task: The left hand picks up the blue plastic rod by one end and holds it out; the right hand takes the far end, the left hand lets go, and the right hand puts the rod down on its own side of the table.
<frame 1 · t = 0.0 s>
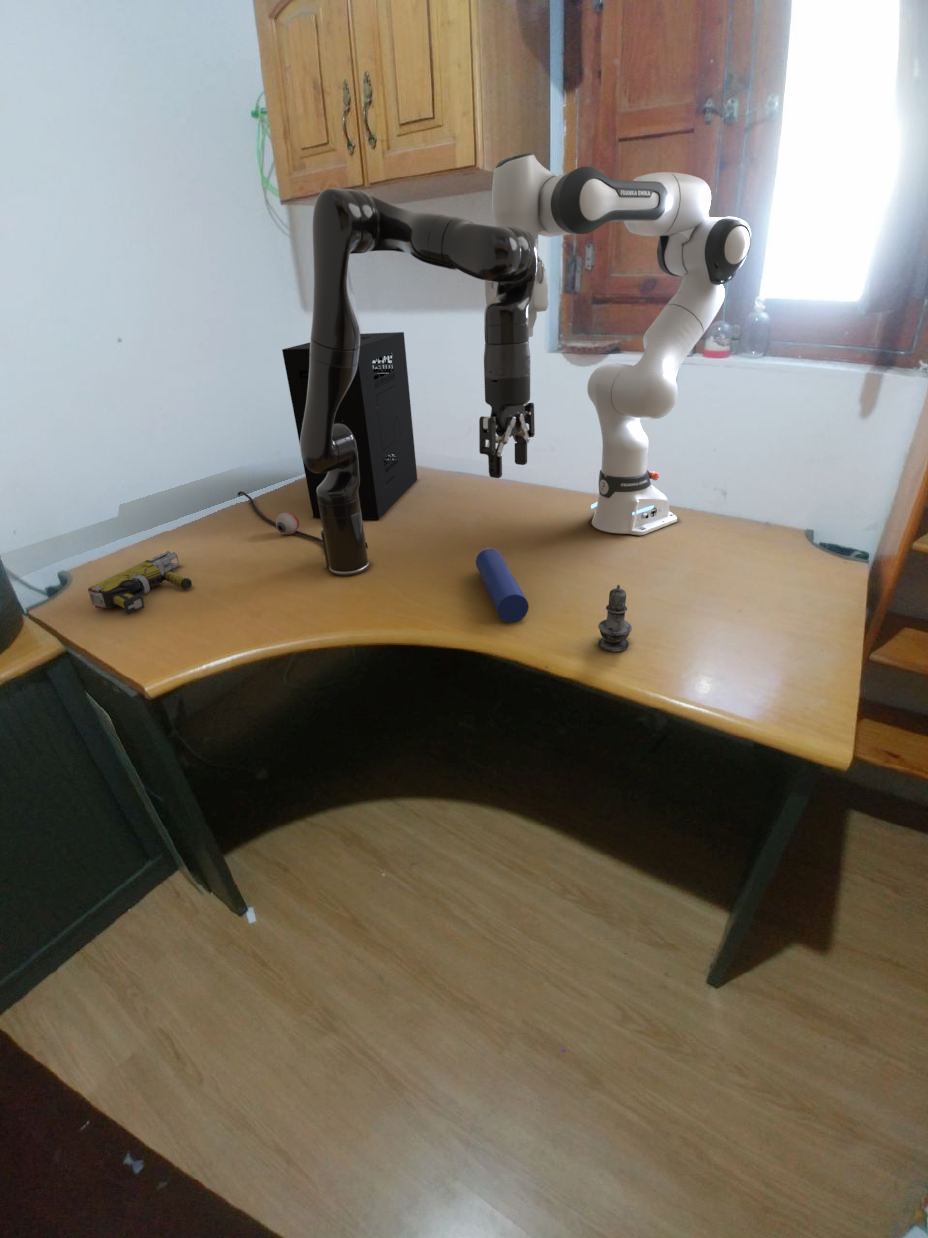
left hand: (508, 470, 106), 29 cm above the table, tool pointing down, fingers open, 8 cm apart
right hand: (516, 335, 125), 48 cm above the table, tool pointing down, fingers open, 8 cm apart
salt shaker: (613, 644, 109), on the table
eyeball: (289, 534, 165), on the table
toy gun: (157, 590, 139), on the table
cardboard box: (369, 497, 189), on the table
rod: (500, 595, 128), on the table
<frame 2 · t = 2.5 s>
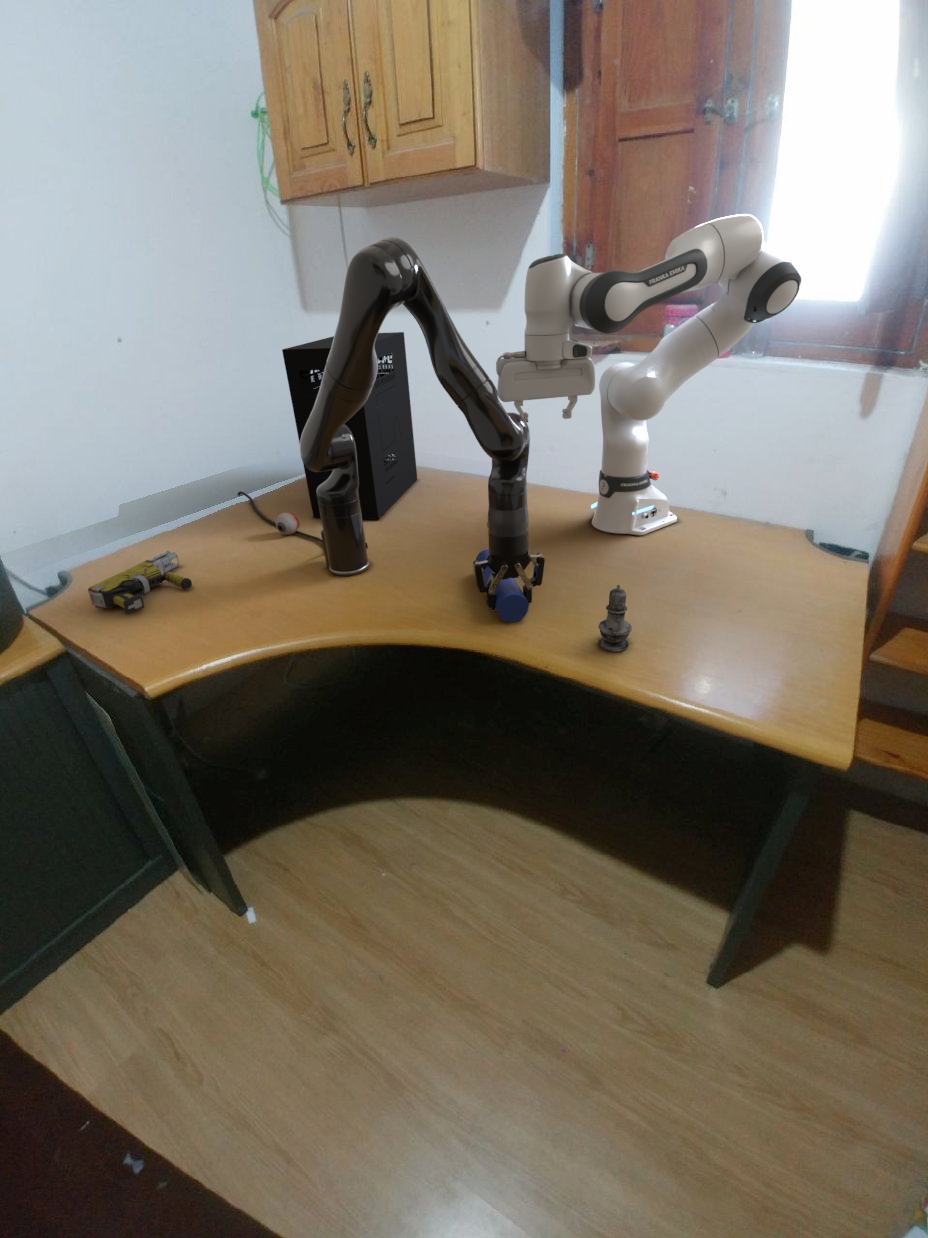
left hand: (509, 606, 120), 2 cm above the table, tool pointing down, fingers closed on rod, 6 cm apart
right hand: (545, 420, 128), 32 cm above the table, tool pointing down, fingers open, 8 cm apart
rod: (500, 596, 128), on the table, touching left hand
everything else where it was.
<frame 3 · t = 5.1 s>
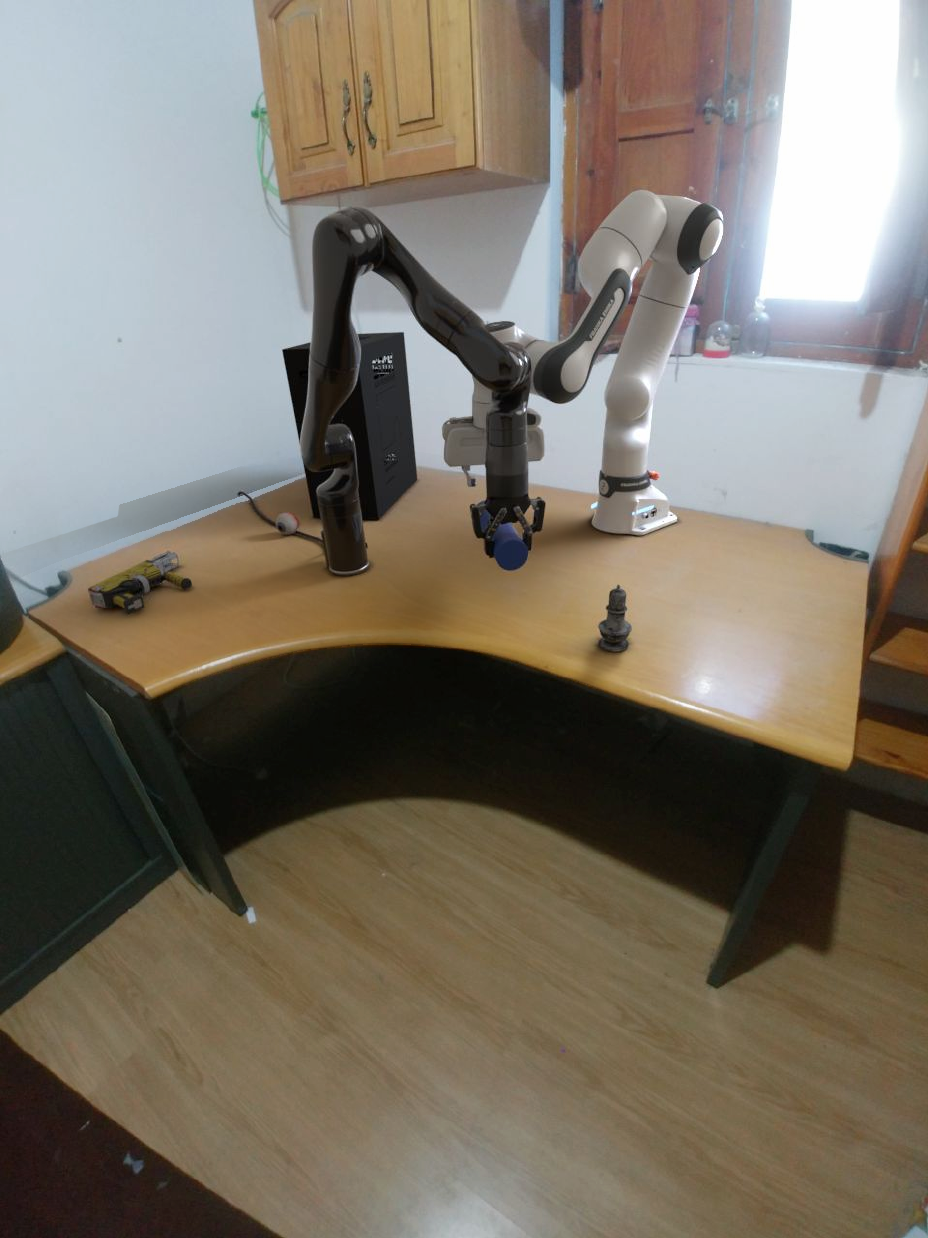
left hand: (508, 554, 114), 13 cm above the table, tool pointing down, fingers closed on rod, 6 cm apart
right hand: (493, 484, 124), 22 cm above the table, tool pointing down, fingers open, 8 cm apart
rod: (498, 547, 122), point 11 cm above the table, touching left hand
everything else where it was.
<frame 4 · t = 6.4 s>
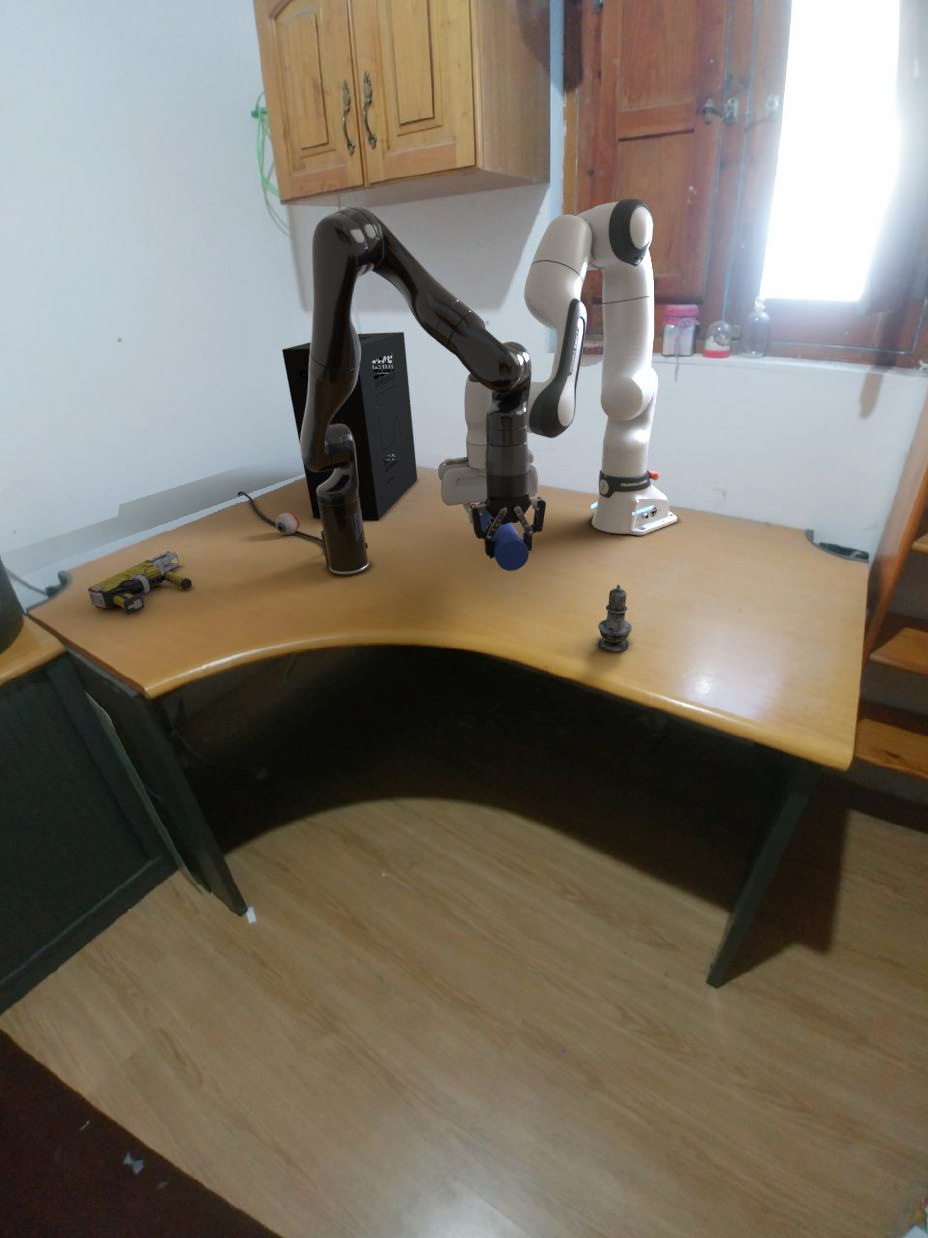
left hand: (508, 554, 114), 13 cm above the table, tool pointing down, fingers closed on rod, 6 cm apart
right hand: (490, 520, 128), 14 cm above the table, tool pointing down, fingers closed on rod, 6 cm apart
rod: (499, 547, 122), point 11 cm above the table, touching right hand, left hand
everything else where it was.
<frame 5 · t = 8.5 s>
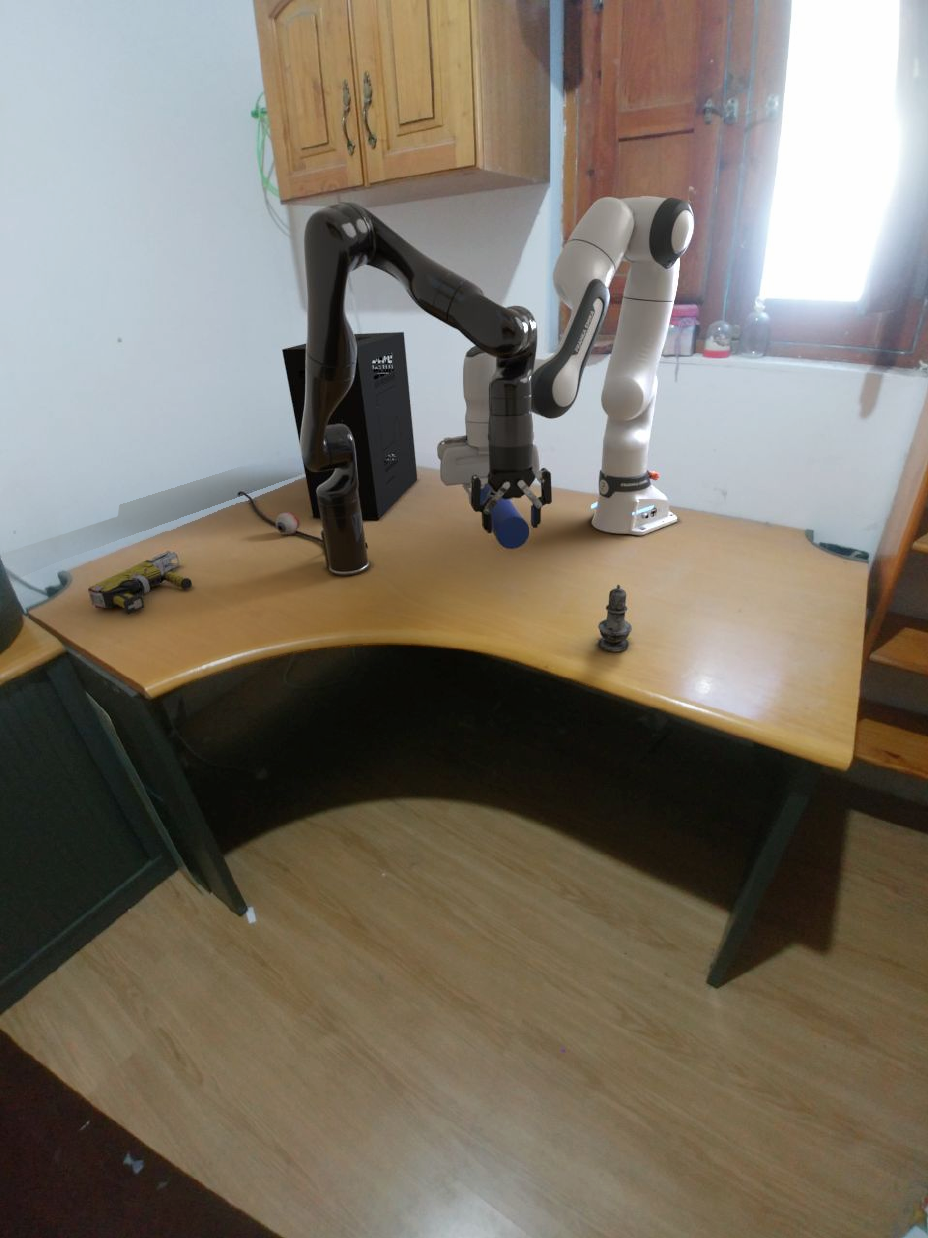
left hand: (511, 529, 110), 19 cm above the table, tool pointing down, fingers open, 8 cm apart
right hand: (491, 500, 126), 18 cm above the table, tool pointing down, fingers closed on rod, 6 cm apart
rod: (499, 527, 120), point 16 cm above the table, touching right hand
everything else where it was.
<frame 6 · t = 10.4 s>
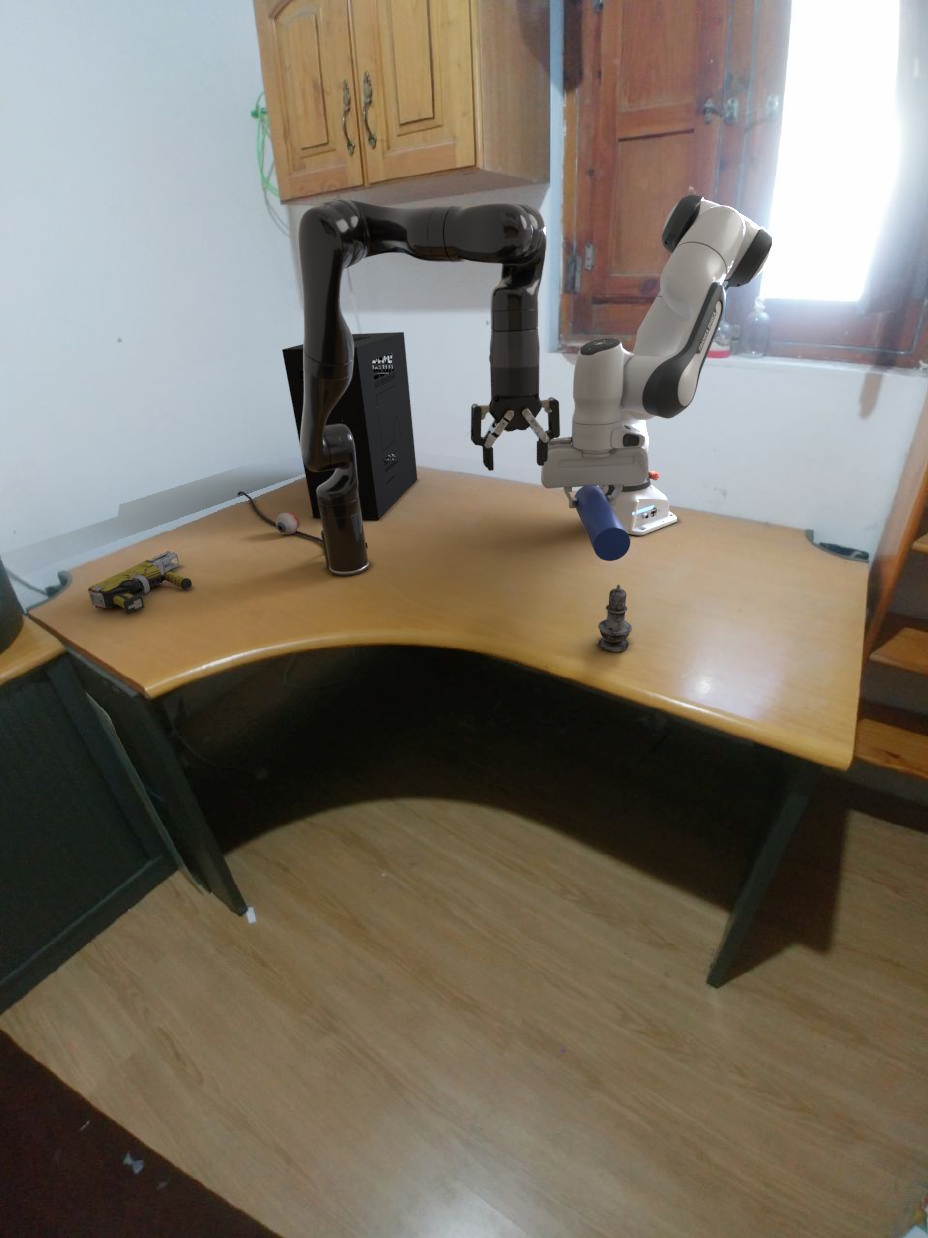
left hand: (515, 467, 100), 31 cm above the table, tool pointing down, fingers open, 8 cm apart
right hand: (592, 506, 119), 18 cm above the table, tool pointing down, fingers closed on rod, 6 cm apart
rod: (598, 535, 114), point 16 cm above the table, touching right hand
everything else where it was.
when the right hand's fingers open (4 cm above the table, at t = 14.2 s): rod stays where it is, on the table.
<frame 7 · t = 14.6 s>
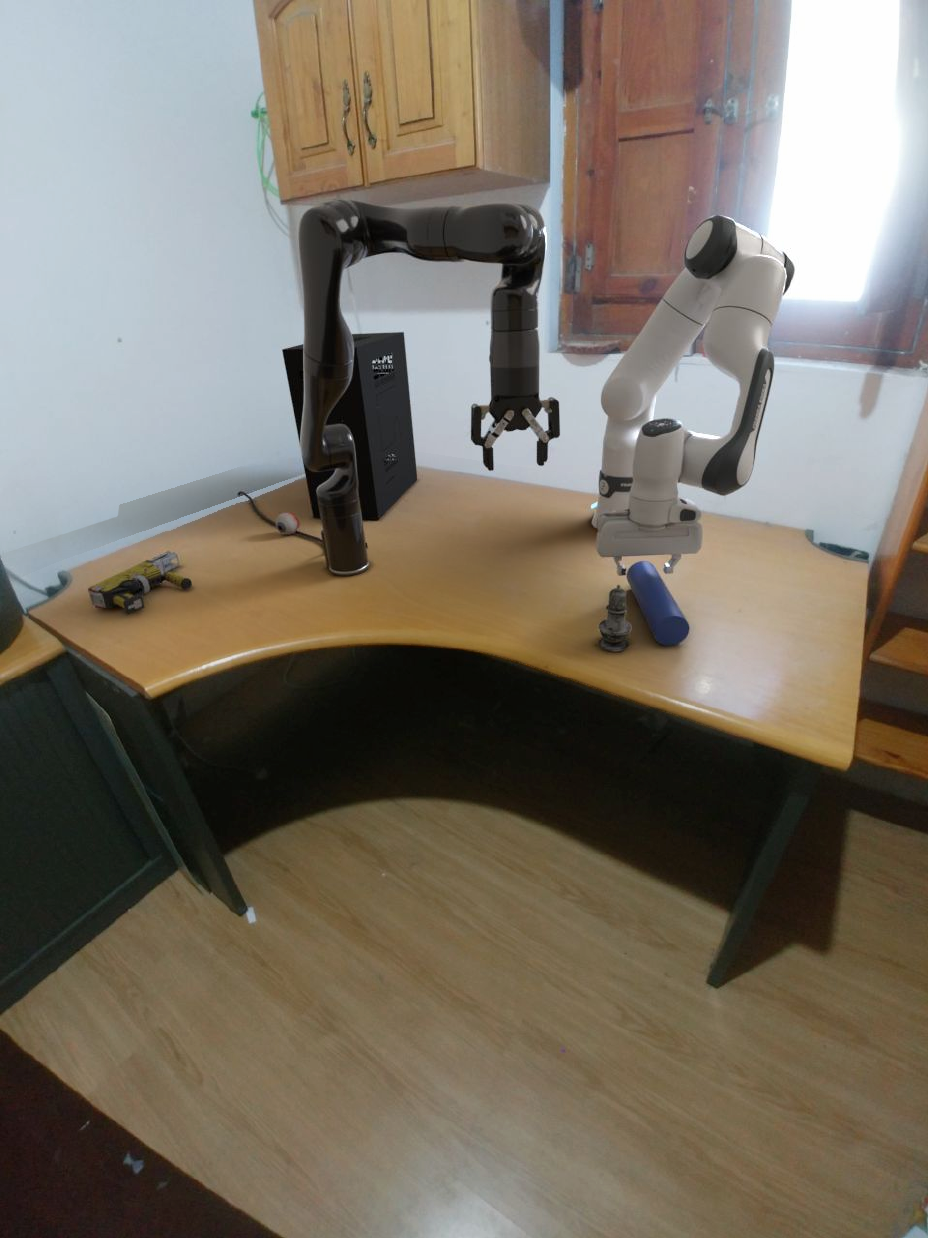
left hand: (515, 467, 100), 31 cm above the table, tool pointing down, fingers open, 8 cm apart
right hand: (644, 573, 123), 5 cm above the table, tool pointing down, fingers open, 8 cm apart
rod: (653, 614, 118), on the table
everything else where it was.
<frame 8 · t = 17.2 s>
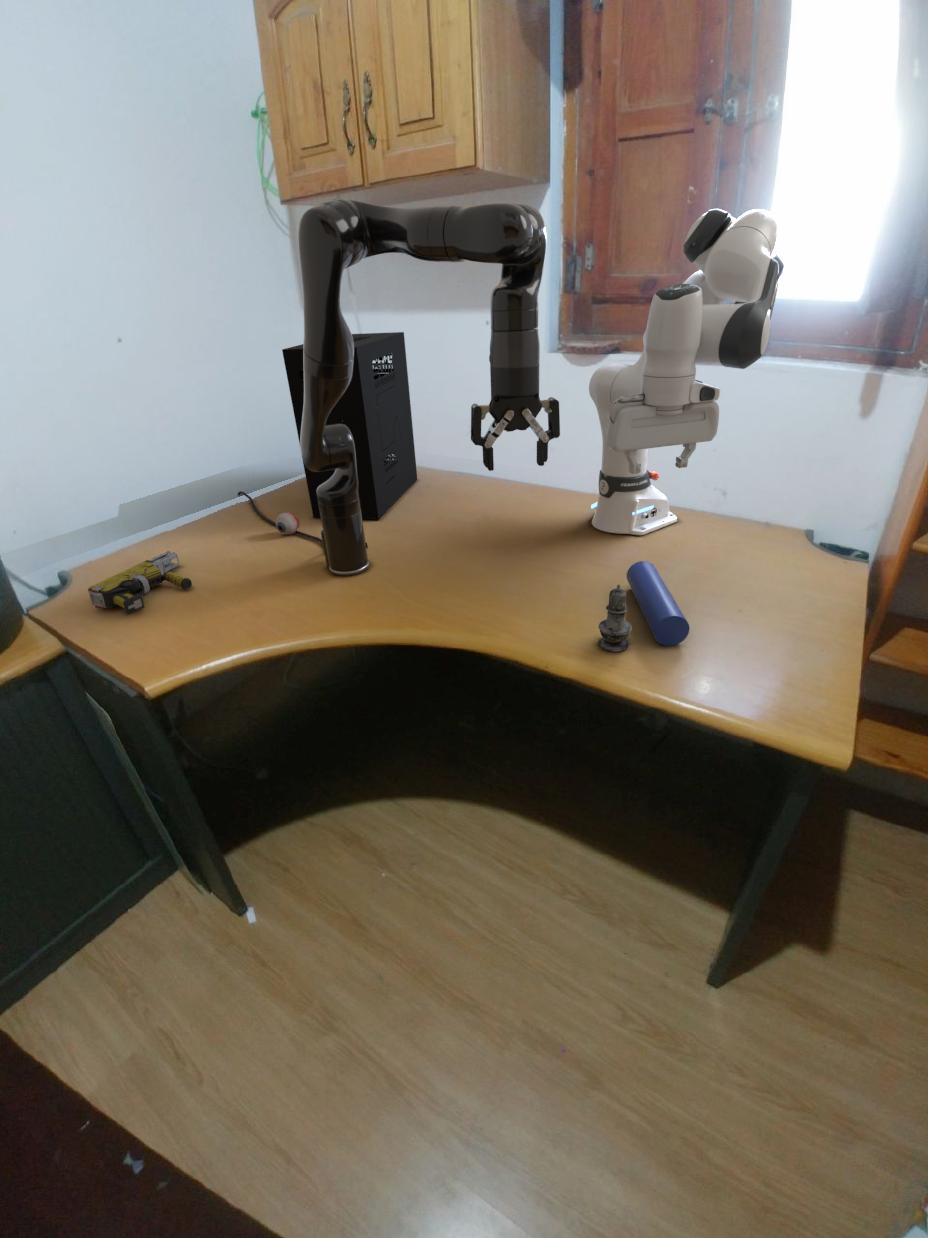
left hand: (515, 467, 100), 31 cm above the table, tool pointing down, fingers open, 8 cm apart
right hand: (657, 469, 112), 26 cm above the table, tool pointing down, fingers open, 8 cm apart
nothing on the table moved.
at the end: rod inside the target area (8.0 cm from its centre), on the table; the left hand is holding nothing; the right hand is holding nothing; rod at rest at the end (0.0 cm/s) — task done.
